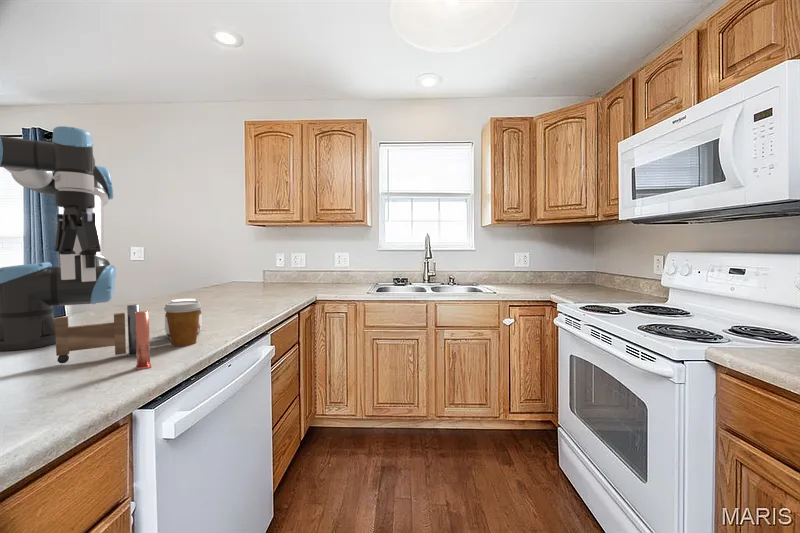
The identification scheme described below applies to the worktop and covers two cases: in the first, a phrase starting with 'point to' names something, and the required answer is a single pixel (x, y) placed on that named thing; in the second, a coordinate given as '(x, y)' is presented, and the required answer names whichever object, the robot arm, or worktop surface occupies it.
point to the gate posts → (139, 336)
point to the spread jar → (198, 323)
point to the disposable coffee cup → (183, 321)
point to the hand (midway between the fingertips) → (78, 280)
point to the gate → (89, 336)
